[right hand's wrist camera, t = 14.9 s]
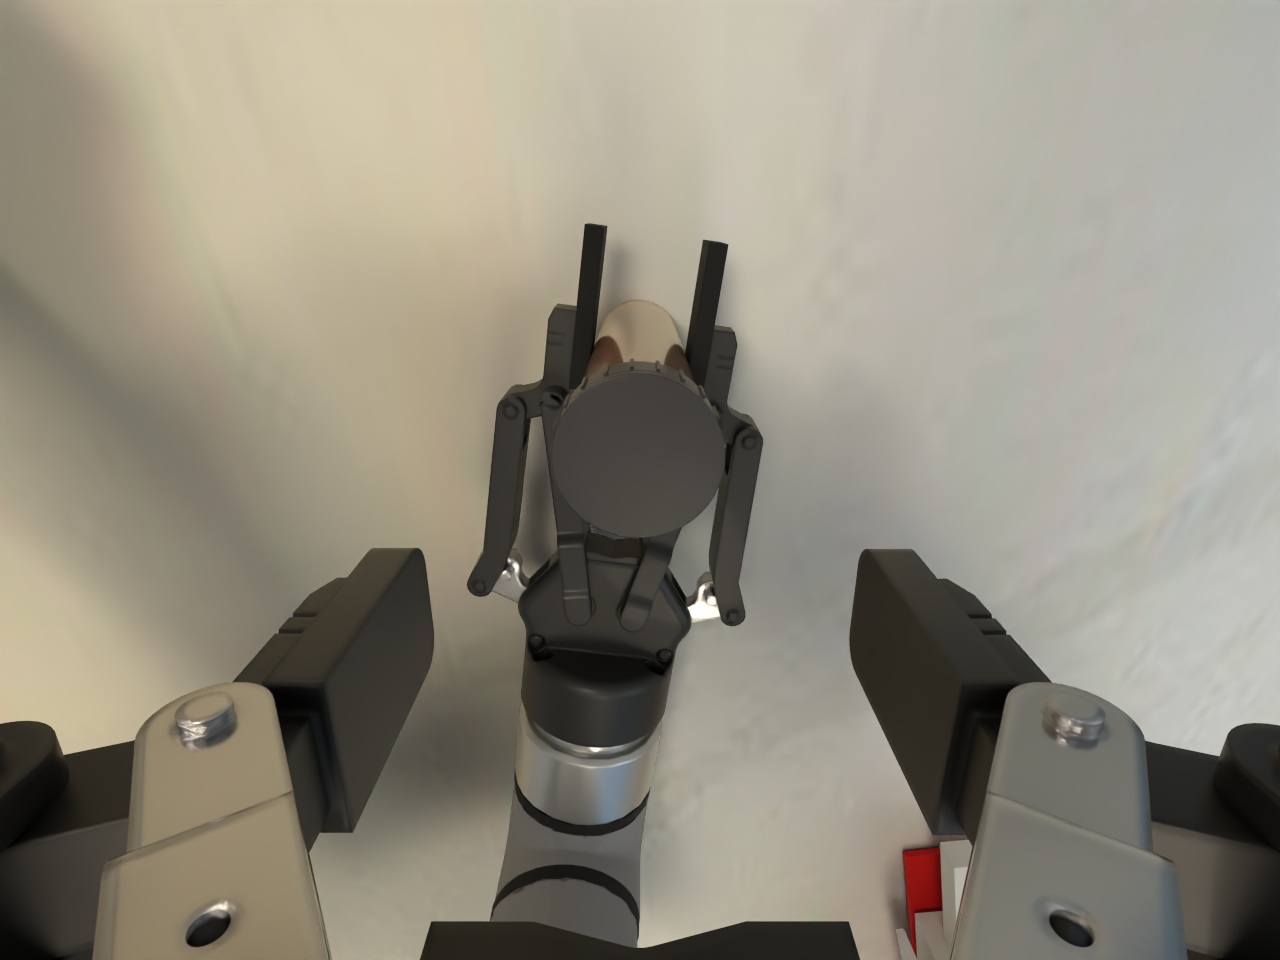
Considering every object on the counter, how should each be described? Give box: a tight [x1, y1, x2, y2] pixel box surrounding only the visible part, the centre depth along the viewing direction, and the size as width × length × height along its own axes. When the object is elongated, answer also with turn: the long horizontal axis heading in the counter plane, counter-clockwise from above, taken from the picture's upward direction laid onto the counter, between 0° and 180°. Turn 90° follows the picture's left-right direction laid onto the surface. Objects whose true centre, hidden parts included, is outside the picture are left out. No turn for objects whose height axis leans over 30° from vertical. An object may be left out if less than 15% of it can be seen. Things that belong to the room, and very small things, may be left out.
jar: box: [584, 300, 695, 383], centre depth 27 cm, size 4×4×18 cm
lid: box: [550, 359, 726, 538], centre depth 19 cm, size 5×5×2 cm
